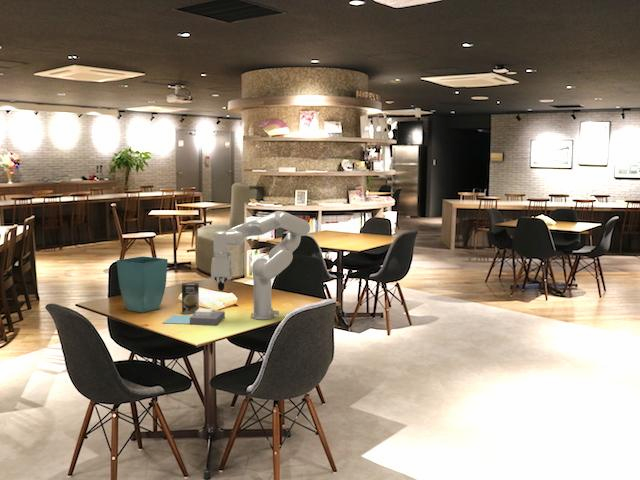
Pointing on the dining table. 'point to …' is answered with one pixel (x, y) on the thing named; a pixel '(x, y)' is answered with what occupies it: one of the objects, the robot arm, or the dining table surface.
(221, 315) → the board
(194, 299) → the coffee box
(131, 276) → the flower pot
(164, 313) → the dining table surface
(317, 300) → the dining table surface
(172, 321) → the mat
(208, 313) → the tile
